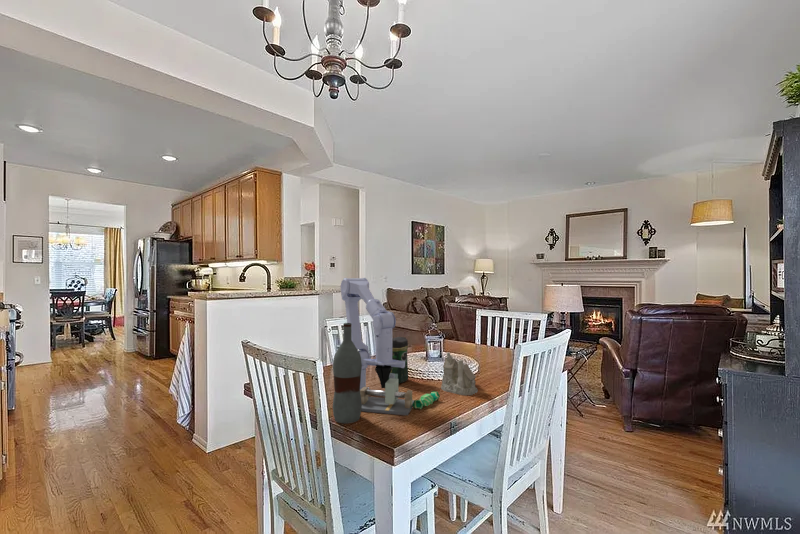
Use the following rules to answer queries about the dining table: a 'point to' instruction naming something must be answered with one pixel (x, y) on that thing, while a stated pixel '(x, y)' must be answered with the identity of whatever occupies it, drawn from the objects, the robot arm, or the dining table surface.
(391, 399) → the grey square nut
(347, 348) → the bottle
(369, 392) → the pipe rig
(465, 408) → the dining table surface
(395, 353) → the coffee jar
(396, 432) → the dining table surface
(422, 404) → the candy
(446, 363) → the jagged grey rock
